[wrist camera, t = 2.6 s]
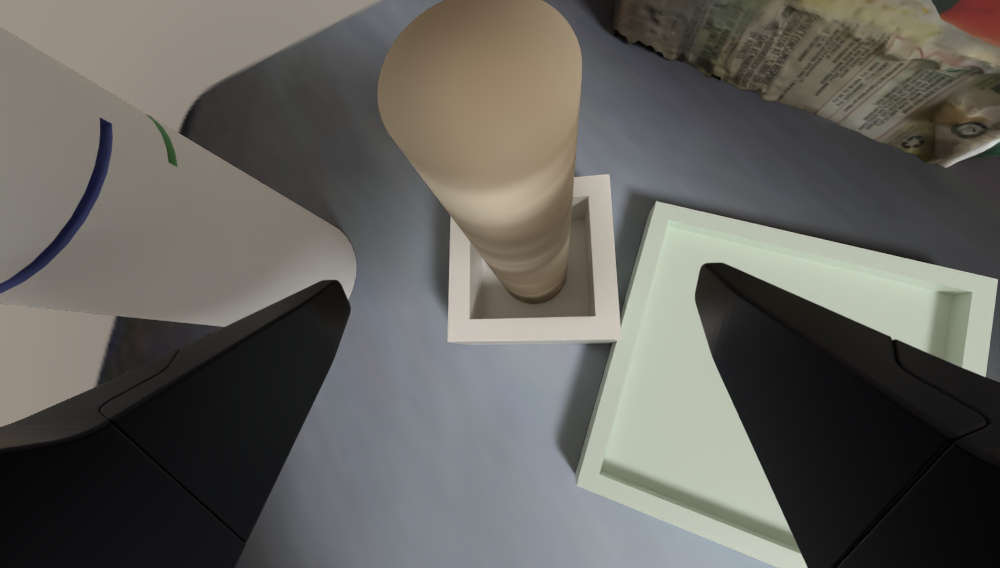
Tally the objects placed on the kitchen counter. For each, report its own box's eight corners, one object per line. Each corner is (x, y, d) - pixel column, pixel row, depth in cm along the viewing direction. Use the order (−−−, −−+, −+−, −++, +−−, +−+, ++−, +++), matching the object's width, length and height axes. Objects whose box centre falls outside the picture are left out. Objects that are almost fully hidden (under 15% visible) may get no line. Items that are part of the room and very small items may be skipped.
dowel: (528, 317, 19) (452, 214, 6) (488, 267, 20) (342, 76, 7) (580, 276, 19) (629, 74, 6) (539, 227, 20) (495, -45, 7)
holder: (610, 343, 19) (621, 339, 16) (466, 345, 20) (447, 341, 17) (601, 204, 20) (609, 174, 17) (468, 214, 22) (451, 187, 18)
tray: (911, 609, 15) (952, 638, 13) (575, 474, 18) (576, 485, 16) (957, 286, 17) (997, 279, 15) (648, 213, 20) (656, 201, 18)
